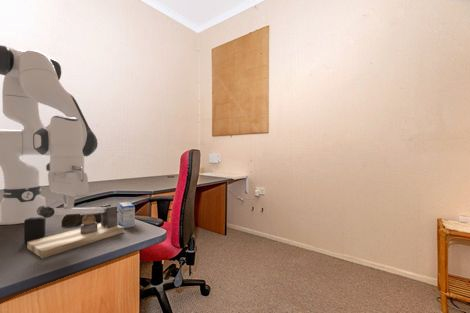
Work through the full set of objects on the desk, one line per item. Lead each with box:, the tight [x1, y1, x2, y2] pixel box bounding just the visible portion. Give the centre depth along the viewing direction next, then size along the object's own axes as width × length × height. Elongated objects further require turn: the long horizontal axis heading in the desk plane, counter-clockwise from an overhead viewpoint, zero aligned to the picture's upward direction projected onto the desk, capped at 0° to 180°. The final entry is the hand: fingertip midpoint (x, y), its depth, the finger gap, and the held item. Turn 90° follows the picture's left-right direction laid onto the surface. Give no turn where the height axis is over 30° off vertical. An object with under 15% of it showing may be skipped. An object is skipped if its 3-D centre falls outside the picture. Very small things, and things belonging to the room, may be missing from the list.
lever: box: [37, 205, 107, 219], centre depth 77 cm, size 4×22×3 cm, turn 148°
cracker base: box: [26, 203, 124, 259], centre depth 77 cm, size 12×24×10 cm, turn 147°
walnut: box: [81, 213, 97, 225], centre depth 79 cm, size 4×4×4 cm
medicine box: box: [117, 201, 136, 229], centre depth 92 cm, size 8×4×9 cm, turn 40°
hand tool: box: [61, 213, 101, 227], centre depth 96 cm, size 19×4×5 cm, turn 118°
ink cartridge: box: [23, 217, 46, 245], centre depth 75 cm, size 5×2×8 cm, turn 120°
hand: (68, 208), depth 74 cm, fingers closed, pressing on lever
